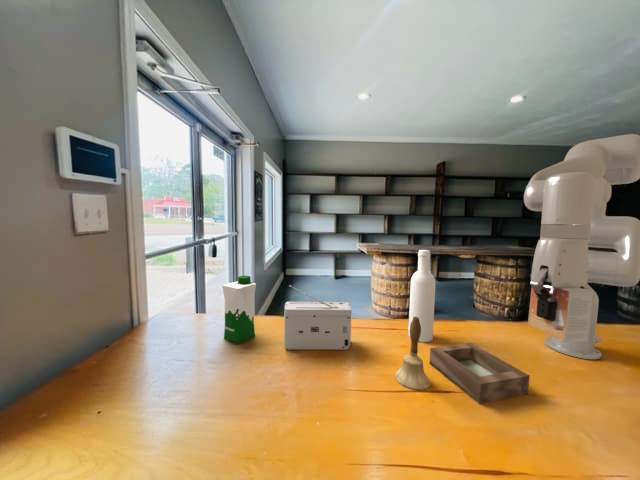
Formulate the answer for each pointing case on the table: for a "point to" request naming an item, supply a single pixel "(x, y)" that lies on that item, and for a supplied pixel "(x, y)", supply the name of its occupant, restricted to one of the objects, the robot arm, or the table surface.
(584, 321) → the small box
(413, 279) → the bottle
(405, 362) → the hand bell
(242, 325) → the milk carton
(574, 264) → the robot arm
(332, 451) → the table surface
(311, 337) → the stereo radio cassette player
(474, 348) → the well block
